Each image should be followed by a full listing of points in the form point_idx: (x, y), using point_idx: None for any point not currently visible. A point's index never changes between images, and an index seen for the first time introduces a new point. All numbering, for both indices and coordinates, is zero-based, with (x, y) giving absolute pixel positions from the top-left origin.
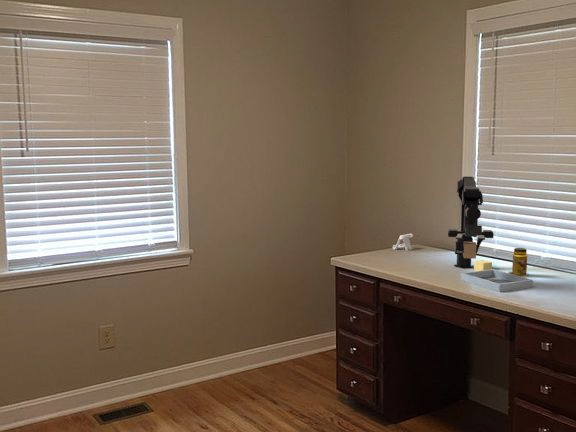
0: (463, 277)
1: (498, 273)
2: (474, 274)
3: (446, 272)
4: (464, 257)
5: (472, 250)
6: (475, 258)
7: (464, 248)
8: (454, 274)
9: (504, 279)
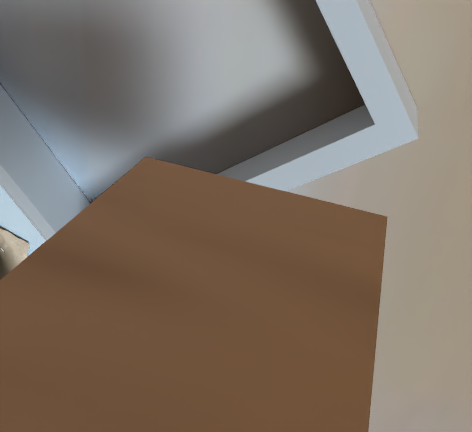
0: (398, 79)
1: (43, 190)
2: (244, 172)
3: (446, 385)
4: (372, 221)
5: (124, 281)
6: (153, 161)
7: (356, 413)
8: (398, 320)
9: (21, 115)
